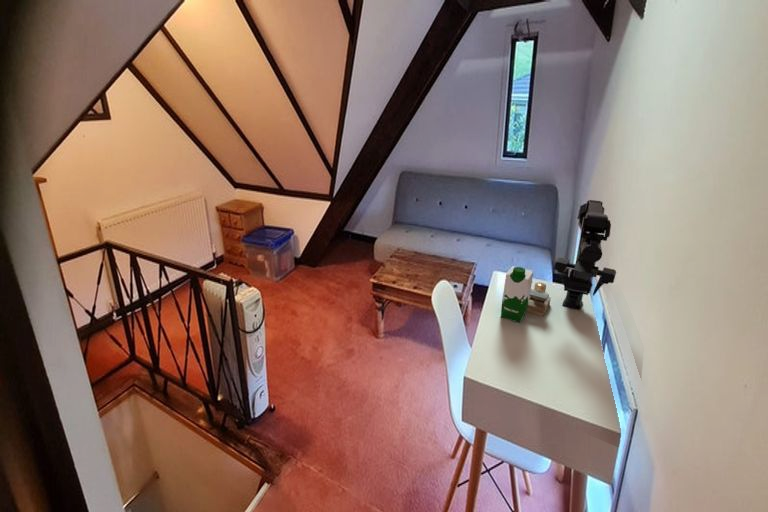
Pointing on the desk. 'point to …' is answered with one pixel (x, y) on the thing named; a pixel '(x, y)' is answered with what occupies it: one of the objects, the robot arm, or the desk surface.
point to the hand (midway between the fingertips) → (579, 291)
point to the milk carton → (516, 293)
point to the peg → (541, 288)
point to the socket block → (537, 306)
